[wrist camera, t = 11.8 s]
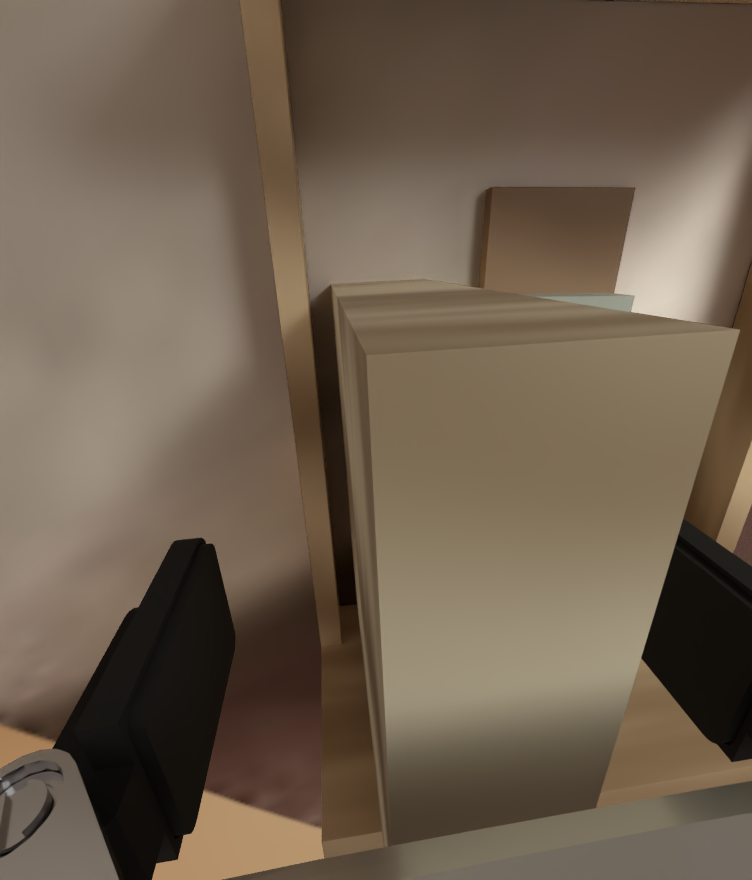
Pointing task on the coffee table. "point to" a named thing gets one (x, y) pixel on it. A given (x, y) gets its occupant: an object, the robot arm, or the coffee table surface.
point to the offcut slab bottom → (553, 239)
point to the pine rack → (342, 668)
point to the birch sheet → (509, 534)
